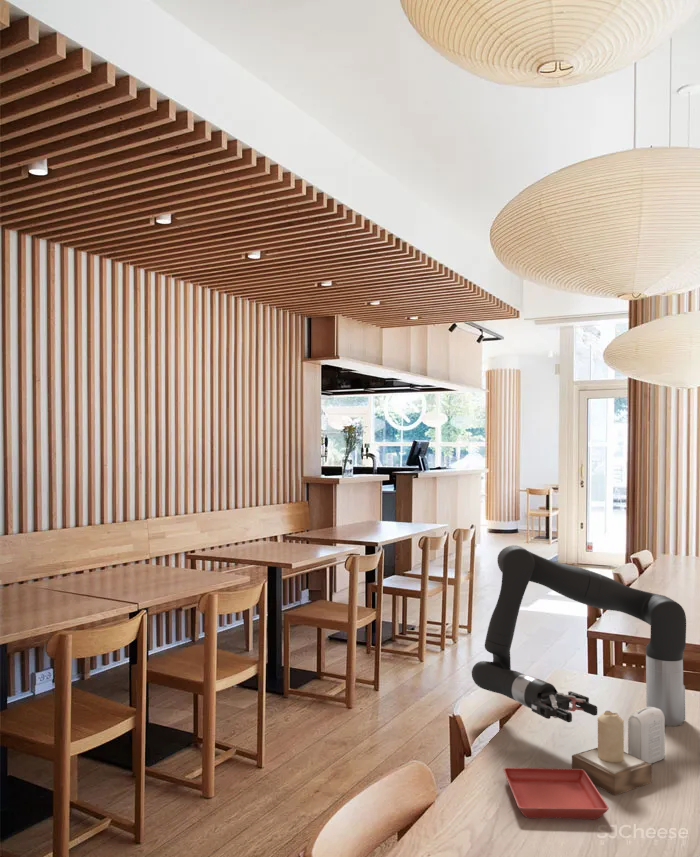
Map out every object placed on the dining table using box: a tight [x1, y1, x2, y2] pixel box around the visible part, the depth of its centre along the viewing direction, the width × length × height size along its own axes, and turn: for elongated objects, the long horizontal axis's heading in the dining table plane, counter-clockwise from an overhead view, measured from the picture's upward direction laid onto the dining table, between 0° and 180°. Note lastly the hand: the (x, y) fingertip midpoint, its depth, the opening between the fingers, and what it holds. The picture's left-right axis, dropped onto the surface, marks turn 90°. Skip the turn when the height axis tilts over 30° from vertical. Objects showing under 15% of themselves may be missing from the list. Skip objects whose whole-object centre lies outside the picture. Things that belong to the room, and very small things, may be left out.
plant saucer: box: [502, 767, 610, 820], centre depth 150 cm, size 18×18×3 cm
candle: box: [597, 710, 625, 763], centre depth 161 cm, size 6×6×10 cm
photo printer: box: [627, 706, 666, 764], centre depth 169 cm, size 10×4×12 cm, turn 123°
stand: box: [571, 747, 653, 796], centre depth 160 cm, size 12×12×4 cm
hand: (583, 714), depth 167 cm, fingers open, 8 cm apart
